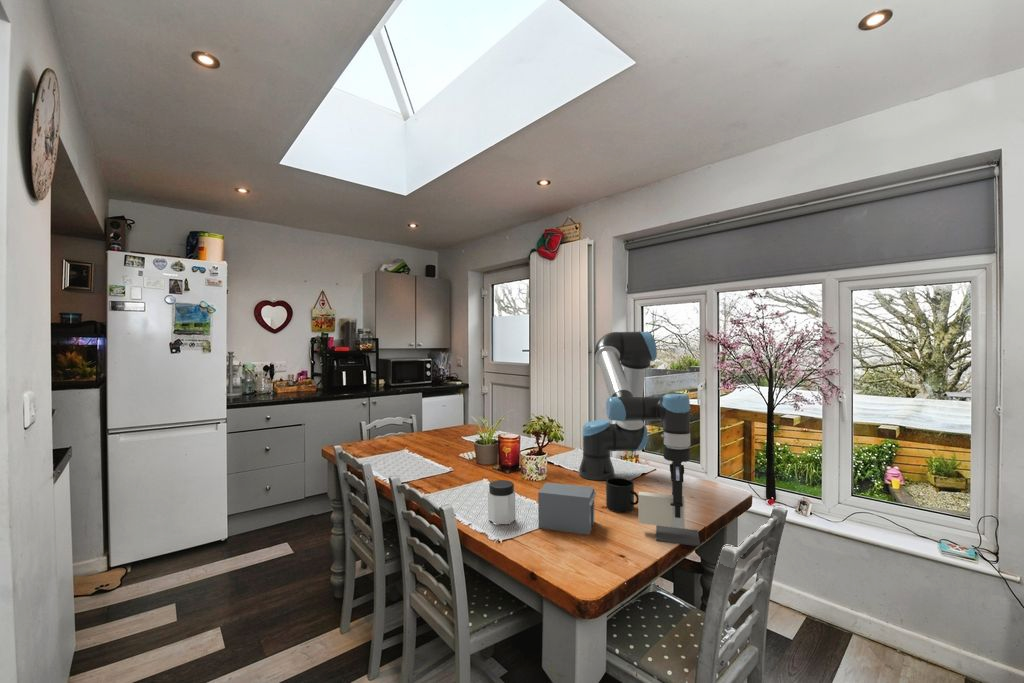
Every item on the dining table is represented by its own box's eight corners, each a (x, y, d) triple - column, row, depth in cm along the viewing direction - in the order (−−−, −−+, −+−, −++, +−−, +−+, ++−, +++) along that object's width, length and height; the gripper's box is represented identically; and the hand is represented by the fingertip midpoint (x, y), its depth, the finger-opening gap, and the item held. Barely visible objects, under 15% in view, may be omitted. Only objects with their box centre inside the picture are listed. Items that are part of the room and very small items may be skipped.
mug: (632, 517, 144) (631, 490, 144) (601, 507, 152) (600, 482, 152) (645, 509, 150) (645, 483, 150) (615, 500, 159) (615, 476, 159)
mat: (656, 526, 136) (656, 525, 136) (697, 531, 132) (697, 530, 132) (656, 540, 127) (656, 539, 127) (700, 546, 123) (700, 545, 123)
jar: (515, 515, 146) (515, 479, 146) (515, 525, 138) (515, 487, 138) (489, 515, 146) (488, 479, 146) (487, 525, 138) (487, 488, 138)
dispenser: (546, 515, 146) (546, 482, 146) (596, 521, 140) (596, 487, 140) (538, 528, 136) (538, 492, 136) (591, 535, 131) (591, 498, 131)
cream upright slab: (639, 518, 135) (638, 491, 135) (684, 524, 130) (683, 496, 130) (638, 522, 132) (638, 494, 132) (684, 528, 127) (684, 499, 127)
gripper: (663, 439, 138) (663, 513, 138) (663, 451, 123) (664, 534, 123) (688, 441, 136) (689, 516, 136) (692, 453, 121) (693, 538, 121)
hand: (677, 524), depth 130 cm, fingers closed on cream upright slab, 3 cm apart
